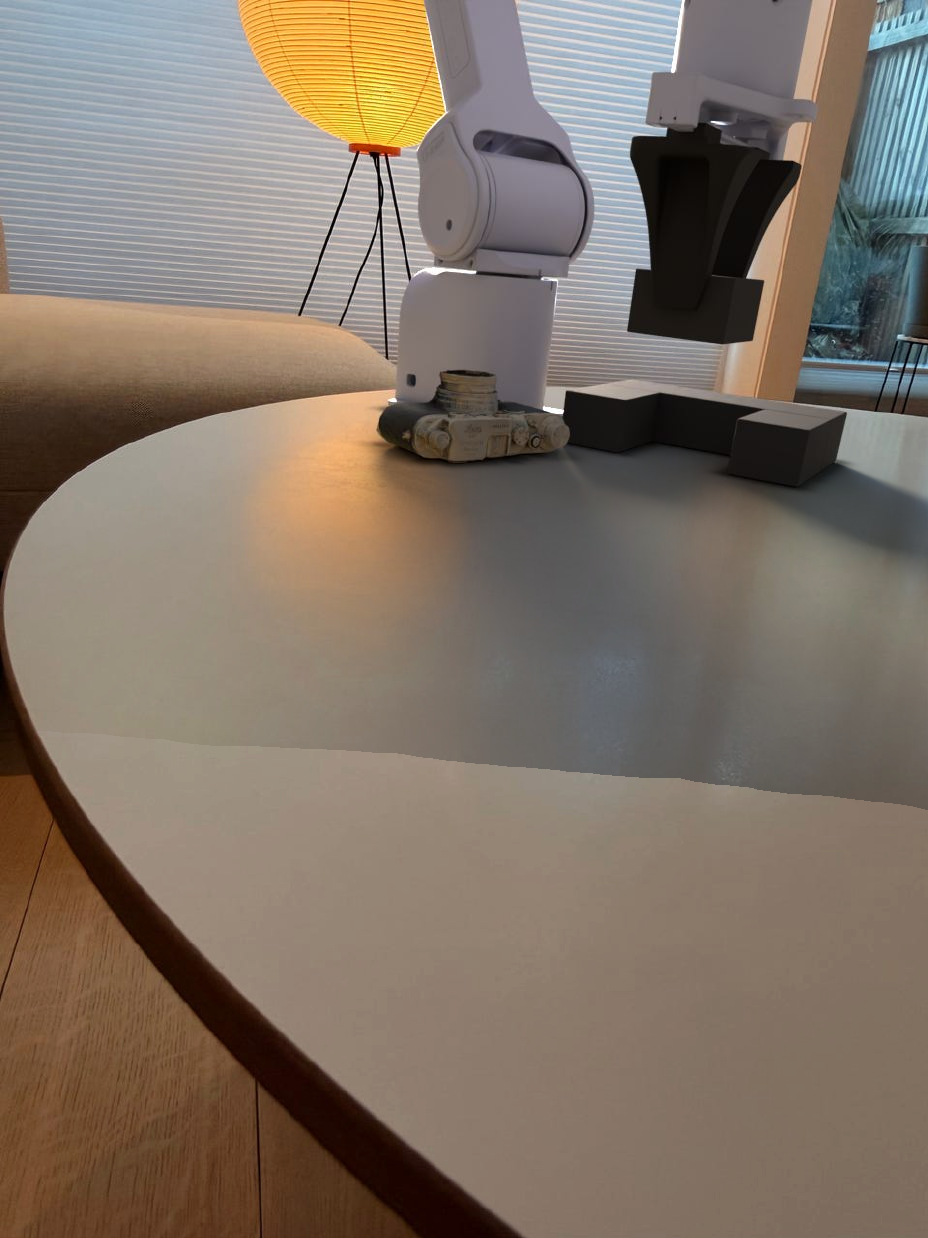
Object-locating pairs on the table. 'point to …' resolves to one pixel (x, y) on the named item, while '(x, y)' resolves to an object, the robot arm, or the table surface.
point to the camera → (470, 422)
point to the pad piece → (699, 311)
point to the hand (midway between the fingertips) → (694, 307)
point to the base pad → (708, 427)
